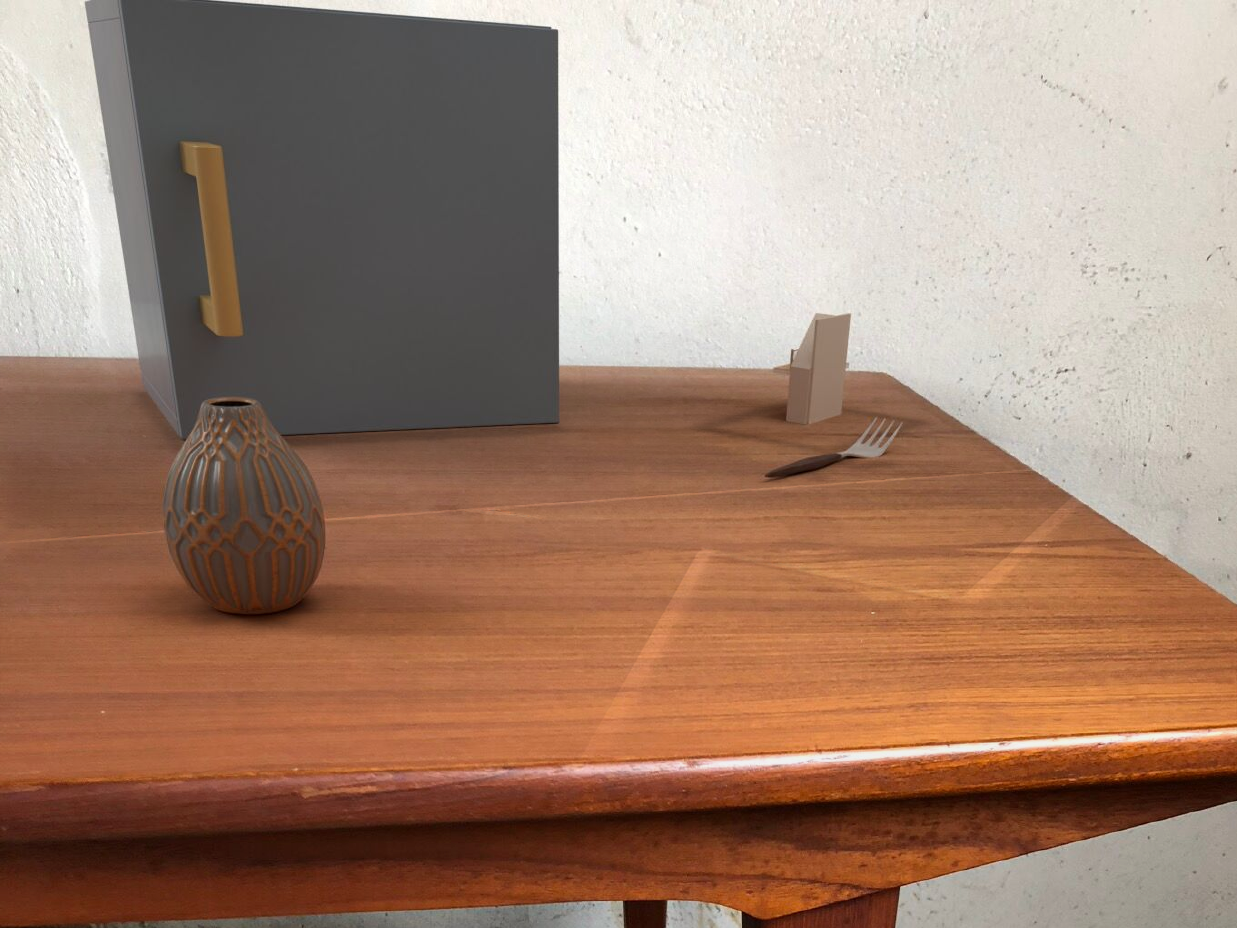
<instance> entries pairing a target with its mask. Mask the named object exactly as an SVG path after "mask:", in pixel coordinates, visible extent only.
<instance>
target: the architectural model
mask: <svg viewBox="0 0 1237 928" xmlns="http://www.w3.org/2000/svg"><path fill="white" fill-rule="evenodd" d="M851 318H852V313H850V312H847V313H843V314H837V315H835V314H829V313H828V314H827V313H821V312H816V313H814V315H813V318H812V320H811V322H810V324H809V325H808V328H807V331H806V332H805V334H804V337H803V339H802V341H801V344H800V345H799V347H798V348H797V349H793V348H792V349H790V358H789V359H790V361H789V363H787V364H784V365H778V366H774V367H772V368H773V369H772V373H773V374H778V375H785V376H789V379H788V380H789V381H788V391H787V392H788V394H787V402H786V403H787V405H786V416H785V417H786V419H785V422H789V423H795V424H800V425H801V424H802V425H812V424H815V423H818V422H822V421H824V420H829V419H832V418H835V417H837V416H841V415H842V409H843V401H844V400H843V399H844V389H845V380H846V370H847V369H850V363H849V362H847V359H848V350H849V340H850V339H849V338H850V330H851V329H850V328H851Z"/></svg>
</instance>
